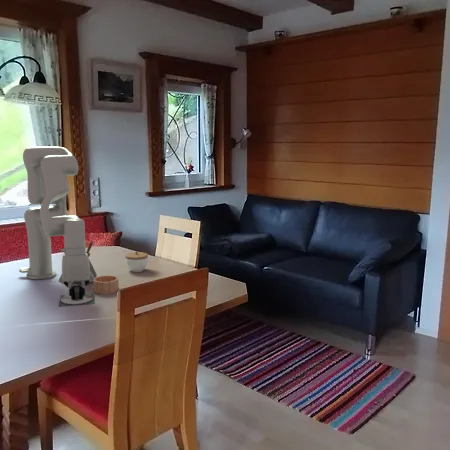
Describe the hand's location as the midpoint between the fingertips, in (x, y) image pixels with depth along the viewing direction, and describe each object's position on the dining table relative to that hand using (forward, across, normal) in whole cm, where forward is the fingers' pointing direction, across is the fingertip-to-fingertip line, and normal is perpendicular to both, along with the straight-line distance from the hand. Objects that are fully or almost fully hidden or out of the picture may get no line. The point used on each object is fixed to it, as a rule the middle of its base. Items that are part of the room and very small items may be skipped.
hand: (77, 296), depth 175 cm
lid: (+1, 0, 0) cm, 1 cm away
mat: (+2, 0, 0) cm, 2 cm away
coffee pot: (+2, +3, +29) cm, 29 cm away
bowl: (+2, +11, +10) cm, 15 cm away
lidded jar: (+2, +26, +38) cm, 46 cm away
